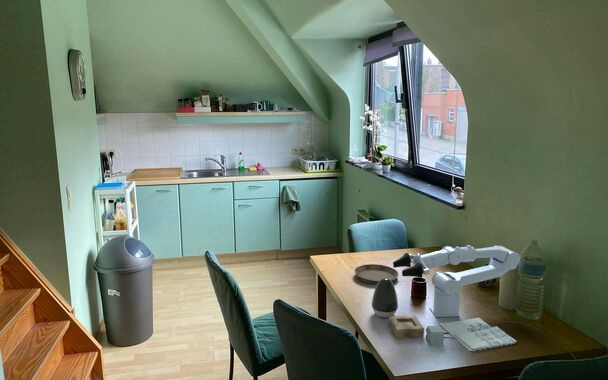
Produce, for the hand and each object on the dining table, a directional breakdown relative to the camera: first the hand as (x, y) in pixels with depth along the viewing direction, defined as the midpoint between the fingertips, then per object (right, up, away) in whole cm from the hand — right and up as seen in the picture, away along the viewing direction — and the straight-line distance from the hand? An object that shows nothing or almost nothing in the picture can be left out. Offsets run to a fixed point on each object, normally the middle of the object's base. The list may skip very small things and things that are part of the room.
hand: (397, 269), depth 174 cm
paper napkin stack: (+27, -23, -7) cm, 36 cm away
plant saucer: (-1, -12, +44) cm, 45 cm away
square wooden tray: (+2, -22, -5) cm, 23 cm away
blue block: (+11, -23, -12) cm, 29 cm away
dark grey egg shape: (-4, -20, +7) cm, 21 cm away
